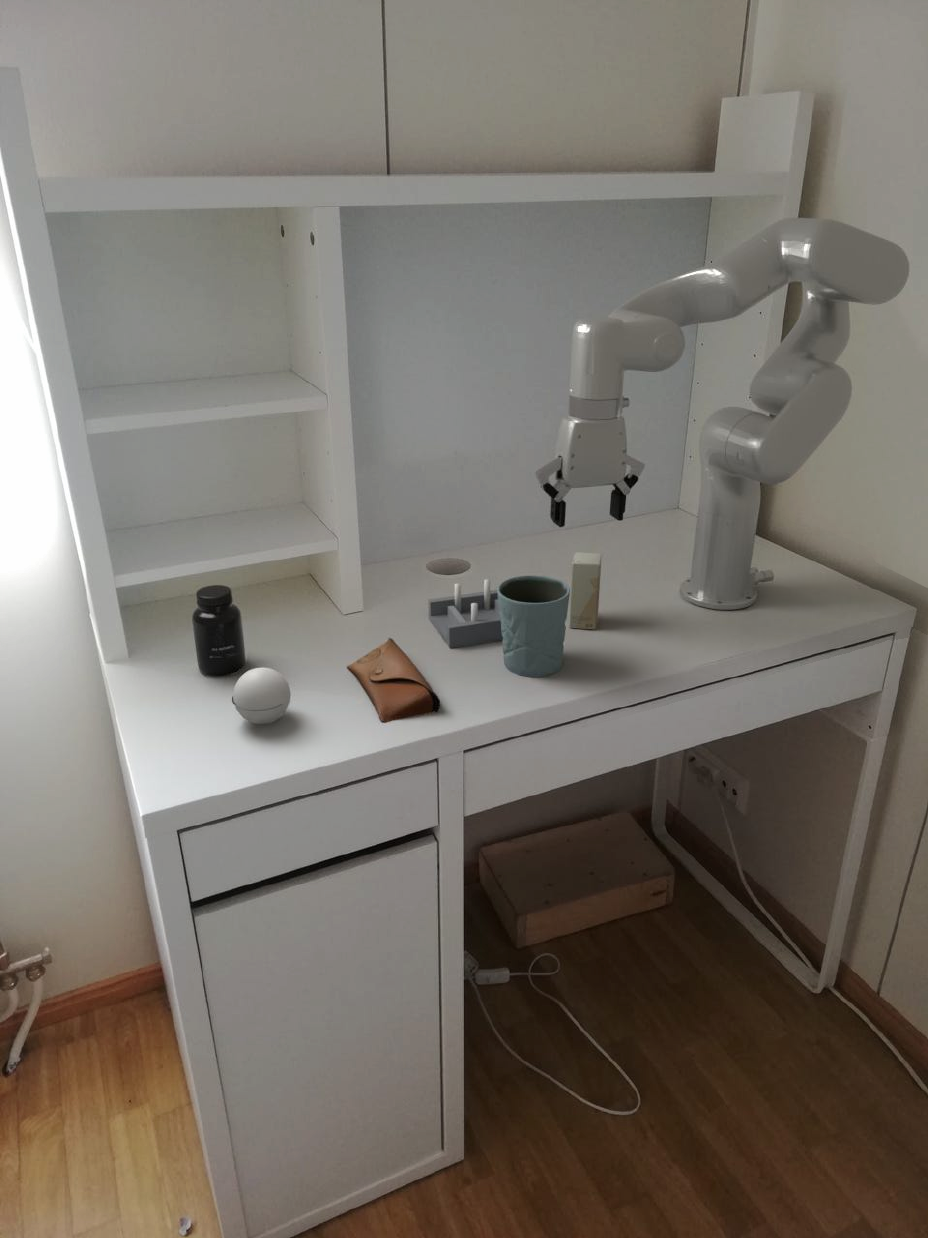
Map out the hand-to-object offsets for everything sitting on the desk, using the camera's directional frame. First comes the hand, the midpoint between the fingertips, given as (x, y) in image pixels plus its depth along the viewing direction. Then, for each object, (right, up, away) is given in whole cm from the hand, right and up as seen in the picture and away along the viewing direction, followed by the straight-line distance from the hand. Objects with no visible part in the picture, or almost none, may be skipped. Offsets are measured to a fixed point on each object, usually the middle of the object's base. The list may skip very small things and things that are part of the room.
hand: (587, 521), depth 138 cm
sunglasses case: (-29, -25, -11) cm, 40 cm away
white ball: (-45, -29, -20) cm, 57 cm away
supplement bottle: (-54, -22, -5) cm, 58 cm away
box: (0, -16, +8) cm, 17 cm away
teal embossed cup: (-9, -22, -5) cm, 24 cm away
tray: (-16, -16, +6) cm, 24 cm away
